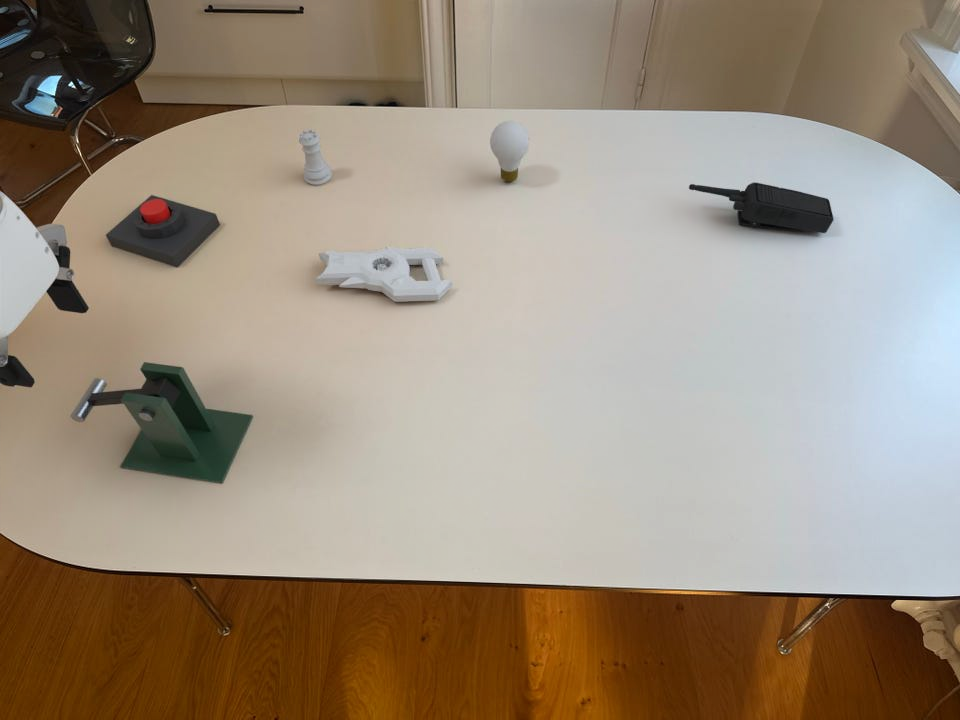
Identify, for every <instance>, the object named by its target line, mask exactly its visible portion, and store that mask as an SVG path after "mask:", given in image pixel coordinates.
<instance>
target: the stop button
mask: <svg viewBox="0 0 960 720" xmlns="http://www.w3.org/2000/svg"><path fill="white" fill-rule="evenodd" d="M140 212H141V214H142V216H143V218H144V220H145V221H146V222H147V223H148V224H157V223H160V222H163V221H165V220H167V219H168V218H169V217H170V211H169V209H168V206H167V204H166V202H165V201H163V200H161V199H153V200H149V201H147V202H145V203H144V204H143V205H142V206H141V208H140Z"/></svg>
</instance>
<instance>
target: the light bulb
mask: <svg viewBox="0 0 960 720" xmlns="http://www.w3.org/2000/svg"><path fill="white" fill-rule="evenodd" d="M489 145H490V149H491V152H492V153H493V156H495V157H496V159H497V161H498V164H499V167H500V178H501V179H502V180H503V181H504V182H507V183H512V182H514V181H516V180H517V179H518V176H519V167H520V165H521V162H522V159H523V158H524V156H526V154H527V153H528V151H529V147H530V135H529V133H528V130H527V129H526V128H525V126H524V125H522V123H519V121H514V120H506V121H503V122H500V123H499V124H497V125H496V126H495V127H494V129H493V131H492V132H491V135H490V139H489Z"/></svg>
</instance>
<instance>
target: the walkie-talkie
mask: <svg viewBox="0 0 960 720" xmlns="http://www.w3.org/2000/svg"><path fill="white" fill-rule="evenodd" d="M688 189H689V190H690V191H696V192H701V193H706V194H712V195H716V196H722V197H725V198H728V201H730V202H732V203H733V202H734V203H733V206H732V209H733V210H734V211H737V223H738V225H740V226H743V227H744V226H745V227H750V228H755V229H756V228H757V229H765V230H766V229H767V230H778V231H788V232H799V233H802V232H804V231H806V232H813V233H819V234H826V233H827V232H828V231H829V229H830V227H831V225H832V224H833V222H834V220H835V219H834V215H833V210H832V207H831V201H830V199H828V198H827V197H822V196H819V195H816V194H815V195H814V194H810V193H806V192H802V191H800V190H794V189H789V188H785V187H779V186H775V185H770V184H766V183H760V182H751V183H749V184H748V185H747V186H746V187H745V189H744V190H740V189H735V188H733V189H732V188H723V187H715V186H707V185H702V184H701V185H700V184H694V183H690V184H689V186H688Z"/></svg>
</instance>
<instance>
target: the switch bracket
mask: <svg viewBox="0 0 960 720" xmlns="http://www.w3.org/2000/svg"><path fill="white" fill-rule="evenodd" d="M139 369H140V372H141V373H142V375H143V377H144V378H145V381H146V380H148V379H158V378H168V379H169V380H170V381H171V382H172V383H173V384H174V385H175V386H176V387H177V388H178V389H179V390H180V391H181V392H180V394H179V396H178V398H177V400H176V401H175V403H174V405H173V407H172V408H171V406H170V404H169V403H168V401H167V399H166V398H161V397H154V396H147V395H140V394H133V393H125V394H124V396H123V397H122V399H121V401H122V402H123V404H122V405H124V407H125V408H126V409H127V411H128V413H129V414H130V415H131V417H132V418H133V420H134V421H135V423H136V424H137V425H138V427H139V428H140V431H139V433H138V435H137V436H136V438H135V440H134V442H133V444H132V445H131V446H130V449H129V451H128V452H127V454H126V455H125V457H124V458H123V461H122V462H121V464H120V468H121V469H124V470H130V471H138V472H142V473H143V472H144V473H151V474H156V475H162V476H170V477H175V478H181V479H182V478H183V479H189V480H195V481H202V482H209V483H216V484H224V482H225V480H226V477H227V475H228V473H229V471H230V470H231V469H230V468H231V466H232V464H233V462H234V460H235V458H236V456H237V453H238V451H239V449H240V447H241V444H242V442H243V440H244V438H245V436H246V433H247V431H248V429H249V428H250V425H251V423H252V421H253V419H254V415H253V414H247V413H241V412H234V411H226V410H220V409H212V408H206V406H205V404H204V402H203V401H202V399H201V397H200V395H199V394H198V392H197V389H196V388H195V386H194V385H193V382H192V381H191V379H190V377H189V375H188V374H187V372H186V369H185V368H184V367H183V366H176V365H168V364H161V363H153V362H146V361H144V362H143V363H142V365H141V367H140V368H139Z"/></svg>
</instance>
